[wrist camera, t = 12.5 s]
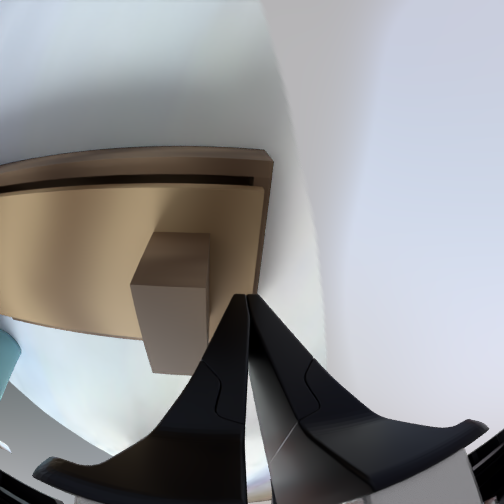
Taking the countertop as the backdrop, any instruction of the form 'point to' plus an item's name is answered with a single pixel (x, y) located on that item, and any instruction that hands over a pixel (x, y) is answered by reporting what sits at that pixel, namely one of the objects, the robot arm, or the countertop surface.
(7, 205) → the lid
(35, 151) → the countertop surface
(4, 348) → the teal cylinder
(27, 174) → the wooden frame piece
